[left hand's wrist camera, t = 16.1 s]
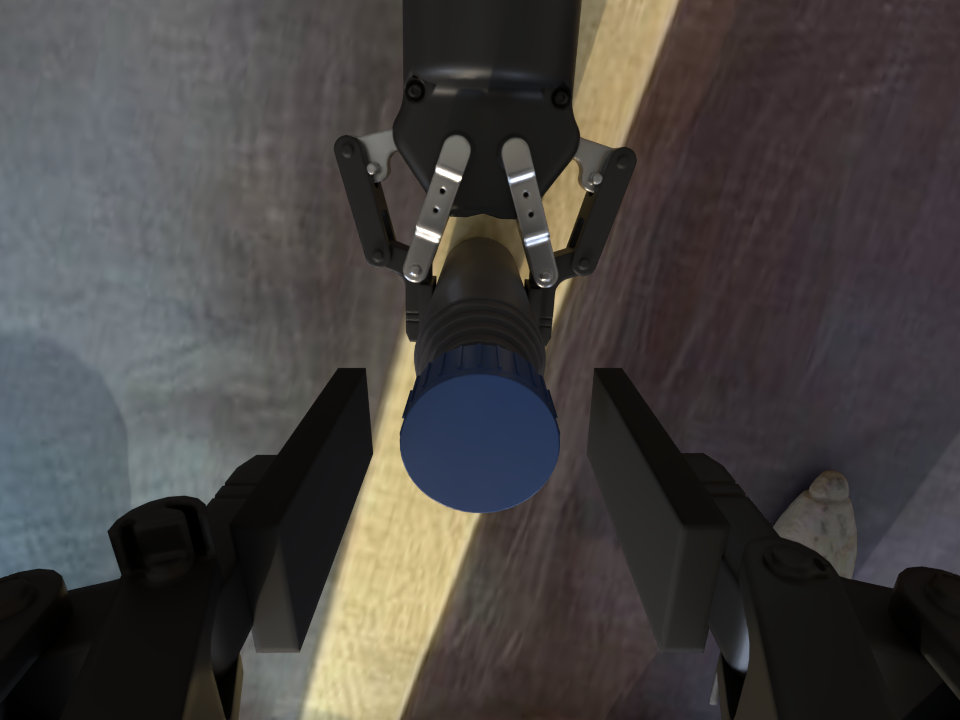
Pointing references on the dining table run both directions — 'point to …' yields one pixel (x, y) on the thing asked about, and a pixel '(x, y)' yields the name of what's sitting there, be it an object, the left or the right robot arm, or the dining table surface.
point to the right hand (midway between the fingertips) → (477, 348)
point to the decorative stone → (824, 521)
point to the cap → (479, 430)
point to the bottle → (479, 306)
